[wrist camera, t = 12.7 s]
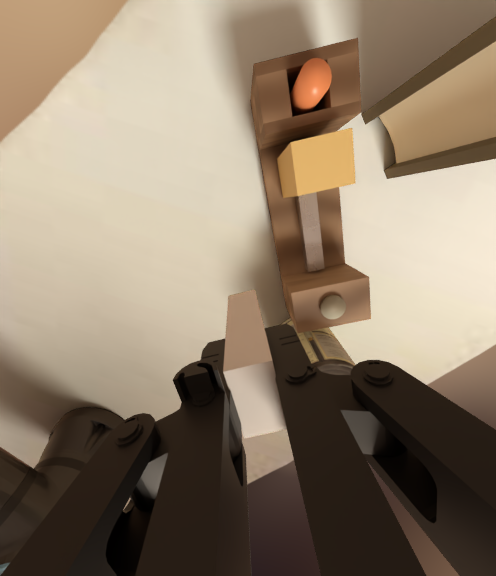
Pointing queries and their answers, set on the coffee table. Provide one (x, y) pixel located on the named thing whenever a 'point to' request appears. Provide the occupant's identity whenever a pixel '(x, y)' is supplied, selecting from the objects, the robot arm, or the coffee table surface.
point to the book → (445, 109)
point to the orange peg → (310, 86)
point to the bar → (310, 231)
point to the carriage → (317, 164)
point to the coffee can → (325, 351)
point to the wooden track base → (283, 211)
